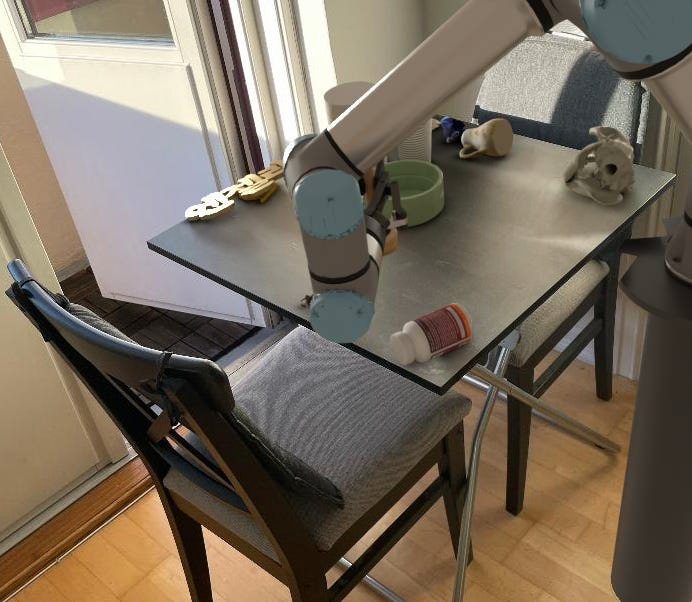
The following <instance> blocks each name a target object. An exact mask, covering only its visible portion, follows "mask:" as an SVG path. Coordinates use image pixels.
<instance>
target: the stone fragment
mask: <svg viewBox="0 0 692 602" xmlns="http://www.w3.org/2000/svg"><path fill="white" fill-rule="evenodd" d="M441 127H442V125H441V120H438V119H436V118H434V117H432V131H433V130H434V131H435V130H436V128H441Z"/></svg>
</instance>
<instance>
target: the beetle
mask: <svg viewBox="0 0 692 602" xmlns="http://www.w3.org/2000/svg"><path fill="white" fill-rule="evenodd" d="M312 299H313V294H311V295H309V294H305V296H304V297H303V298H302V299H301V300H300V302H301V304H300V306H301V307H303V308H306V309H308V310H310V303H311V300H312ZM303 301H305V302H304V304H303V303H302V302H303Z"/></svg>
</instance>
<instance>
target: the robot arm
mask: <svg viewBox="0 0 692 602" xmlns="http://www.w3.org/2000/svg"><path fill="white" fill-rule="evenodd" d="M565 21H568V22H570V23H571V24H573V26H575V27H576V28H578V29H579V31H581V32H582V33H583V34H584V36H586V38H587V39H588V40H589V41H590V42H591V43H592V44H593V46H594V47H595V48H596V49H597V51H598V52H599V54H601V56H602V57H603V58H604V59H605V61H606V62H607V63H608V65H609V66H610V67H611V68H612V70H613V71H614V72H615V74H616V75H618V77H619V78H621V79H622V80H624V81H626V82H630V83H632V82H633V83H638V82H639V83H640V82H642V83H643V84H644V85H645V87H646V88H647V90H649V92H650V93H651V95H652V96H653V97H654V99H655V100H656V101H657V102H658V104H659V105H660V107H661V108H662V109H663V110H664V112H665V113H666V114H667V115H668V117H669V118H670V119H671V121H672V122H673V124H674V125H675V126H676V127H677V129H678V130H679V131H680V133H681V134H682V135H683V136H684V137H685V139H686V140H687V141H688V142H689V144H690V145H691V146H692V0H468V1H467V2H466V3H465V4H464V5H463V6H461V7H460V8H459V9H458V10H457V11H455V13H454V14H453V15H451V17H450V18H448V19H447V20H446V21H445V22H444V23H443V24H441V25H440V26H439V27H438V28H437V29H436V30H435V31H434V32H432V33H431V34H430V35H429V36H428V37H427V38H426V39H425V40H423V41H422V42H421V43H420V44H419V45H418V46H417V47H416V48H414V49H413V50H412V51H411V52H410V53H409V54H408V55H407V56H406V57H404V58H403V59H402V60H401V61H400V62H399V63H397V65H395V66H394V67H393V68H392V69H391V70H390V71H388V73H386V74H385V75H384V76H383V77H382V78H381V79H380V80H378V81H377V82H376V83H374V84H375V85H374V86H373V87H372V88H371V89H370V90H368V91H367V92H366V93H365V94H364V95H363V96H362V97H361V98H359V99H358V100H357V101H356V102H355V103H354V104H353V105H352V106H350V107H349V108H348V109H347V110H346V111H345V112H344V113H343V114H342V115H340V116H339V117H338V118H337V119H336V120H335V121H334V122H333V123H331V124H330V125H329V126H328V125H327V127H326V128H325V129H323V130H322V131H321V132H320V133H318V134H317V133H308V134H304V135H301V136H298V137H296V138H294V139H293V140H292V141H291V142H290V143H289V144H288V146H287V147H286V148H285V151H284V154H283V157H282V160H283V169H284V176H283V180H284V183H285V187H286V188H287V189H288V192H289V195H290V198H291V203H292V207H293V210H294V214H295V217H296V221H297V224H298V228H299V231H300V235H301V240H302V245H303V248H304V249H303V250H304V252H305V257H306V261H307V268H308V273H309V274H308V275H309V279H310V284H311V289H312V295H313V299H312V300H311V303H310V309H309V317H308V318H309V323H310V326H311V327H312V329H313V331H314V332H315V333H316V334H317V335H318V336H319V337H320V338H322V339H324V340H325V341H328V342H331V343H335V344H351V343H354V342H357V341H358V340H360V339H362V338H363V337H364V336H365V335H366V334H367V333H368V331H369V329H370V327H371V323H372V320H373V317H374V314H375V311H376V309H375V303H376V298H377V292H378V285H379V279H380V272H381V267H382V264H383V263H382V262H383V257H384V256H383V253H384V247H385V241H386V237H387V236H388V235H389V234H390V232H391V229H393V228H396V229H397V227H399V228H398V229H399V230H401V231H406V230H408V229H409V227H408V219H407V212H406V210H405V209H404V208H403V207H402V206H401V199H400V191H399V183H398V181H396V180H393V181H391V182H390V178H389V172H388V171H385V167H384V158H385V157H386V156H387V157H388V155H390V154H391V153H392V152H393V151H394V150H396V149H398V148H397V147H398V146H399V145H400V144H401V143H402V142H404V141H405V140H406V139H407V138H408V137H410V136H411V135H412V134H413V133H414V132H416V131H417V130H418V129H419V128H420V127H421V126H423V125H424V124H425V123H426V122H427V121H429V120H430V119H431V118H434V117H435V116H436V115H437V114H438V113H440V112H441V111H442V110H443V109H445V108H446V107H447V106H448V105H449V104H450V103H451V102H452V101H454V100H455V99H456V98H457V97H459V96H460V95H461V94H462V93H463V92H464V91H466V90H467V89H468V88H470V86H471V85H473V84H474V83H475V82H476V81H478V80H479V79H480V78H482V76H483V75H484V74H486V73H487V72H488V71H489V70H491V69H492V68H493V67H494V66H495V65H497V64H498V63H499V62H500V61H501V60H503V59H504V58H505V57H506V56H507V55H509V54H510V53H511V52H512V51H513V50H514V49H516V48H517V47H518V46H519V45H520V44H522V42H524V41H525V40H526V39H528V38H529V37H540V38H541V37H543V36H544V35H546V34H547V33H548V32H549V31H550V30H552V29H553V28H554V27H556V26H557V25H559V24H560V23H562V22H565ZM376 164H377V166H376V171H375V176H374V183H375V191H374V194H373V196H372V199H371V202H369V203H368V205H367V208H366V209H365V205H364V200H363V197H362V196H363V195H365V189H364V182H363V175H365V174H366V173H367V172H368V171H369V170H370V169H372V168H373V167H374V166H375V165H376ZM688 178H689V179H688V184H687V185H688V186H687V191H686V197H685V206H684V209H683V210H684V211H683V215H684V216H683V219H682V221H681V222H680V224H679V226H678V228H677V229H676V231H675V233H674V234H673V235H672V236H671V237H670V238H669V239H668V241H667V242H666V244H667V243H668V242H669V243H668V245H667V248H666V250H665V257H664V266H665V269H666V271H667V272H668V273H669V275H670V276H671V277H672V278H674V279H675V280H676V281H678V282H679V283H681V284H683V285H685V286H687V287H690V288H692V164H691V166H690V173H689V177H688ZM388 195H390V196H392V204H393V211H392V215H391V216H390V219H389V220H388V219H387V218H386V217H385V216H384V215H382V211H383V208H384V206H385V203H386V200H387V199H388V200H389V198H388ZM666 244H665V245H666Z"/></svg>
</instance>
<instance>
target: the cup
mask: <svg viewBox="0 0 692 602" xmlns="http://www.w3.org/2000/svg"><path fill="white" fill-rule="evenodd" d="M432 118H433V117H432ZM432 118H431V119H430V120H429V121H427V122H426V123H425V124H424V125H423V126H421V127H420V128H419V129H418V130H417V131H416V132H414V133H413V134H412V135H411V136H410V137H408V138H407V139H406V140H405V141H404V142H402V143H401V144H400V145H399V146H398V147H397V148H396V149H397V153H398V160H406V159H407V160H421V161H426V162H430V163H432V131H433V130H432Z"/></svg>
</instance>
